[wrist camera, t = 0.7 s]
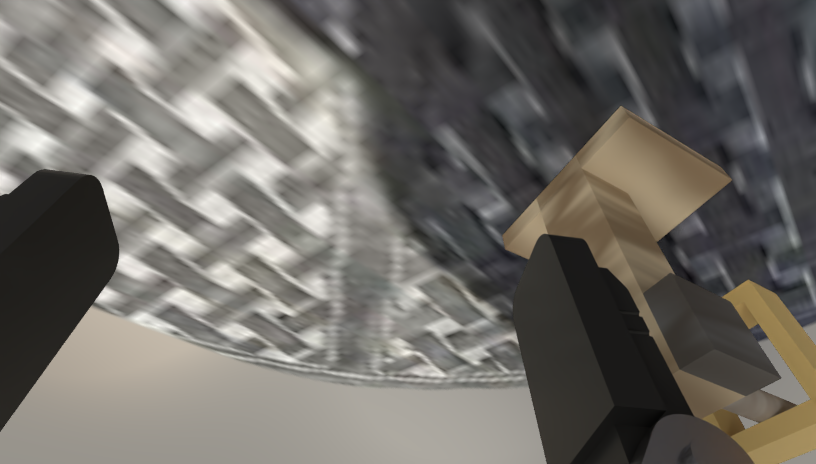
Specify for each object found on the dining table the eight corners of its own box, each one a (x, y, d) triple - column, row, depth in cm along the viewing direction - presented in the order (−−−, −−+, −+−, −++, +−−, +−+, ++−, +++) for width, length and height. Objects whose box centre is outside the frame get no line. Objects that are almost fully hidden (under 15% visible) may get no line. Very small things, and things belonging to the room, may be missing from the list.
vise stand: (620, 105, 28) (774, 313, 16) (804, 218, 34) (1020, 436, 22) (502, 235, 35) (547, 448, 23) (670, 311, 41) (778, 516, 29)
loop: (748, 279, 27) (844, 411, 21) (776, 293, 28) (877, 424, 22) (659, 338, 31) (720, 464, 25) (686, 349, 31) (751, 474, 25)
